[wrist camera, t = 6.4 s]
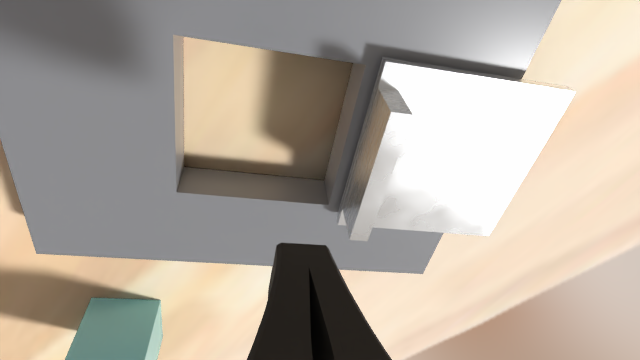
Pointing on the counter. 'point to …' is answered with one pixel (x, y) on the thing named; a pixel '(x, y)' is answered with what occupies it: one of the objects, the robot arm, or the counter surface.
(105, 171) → the socket plate
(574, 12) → the counter surface
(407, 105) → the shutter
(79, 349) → the plug
